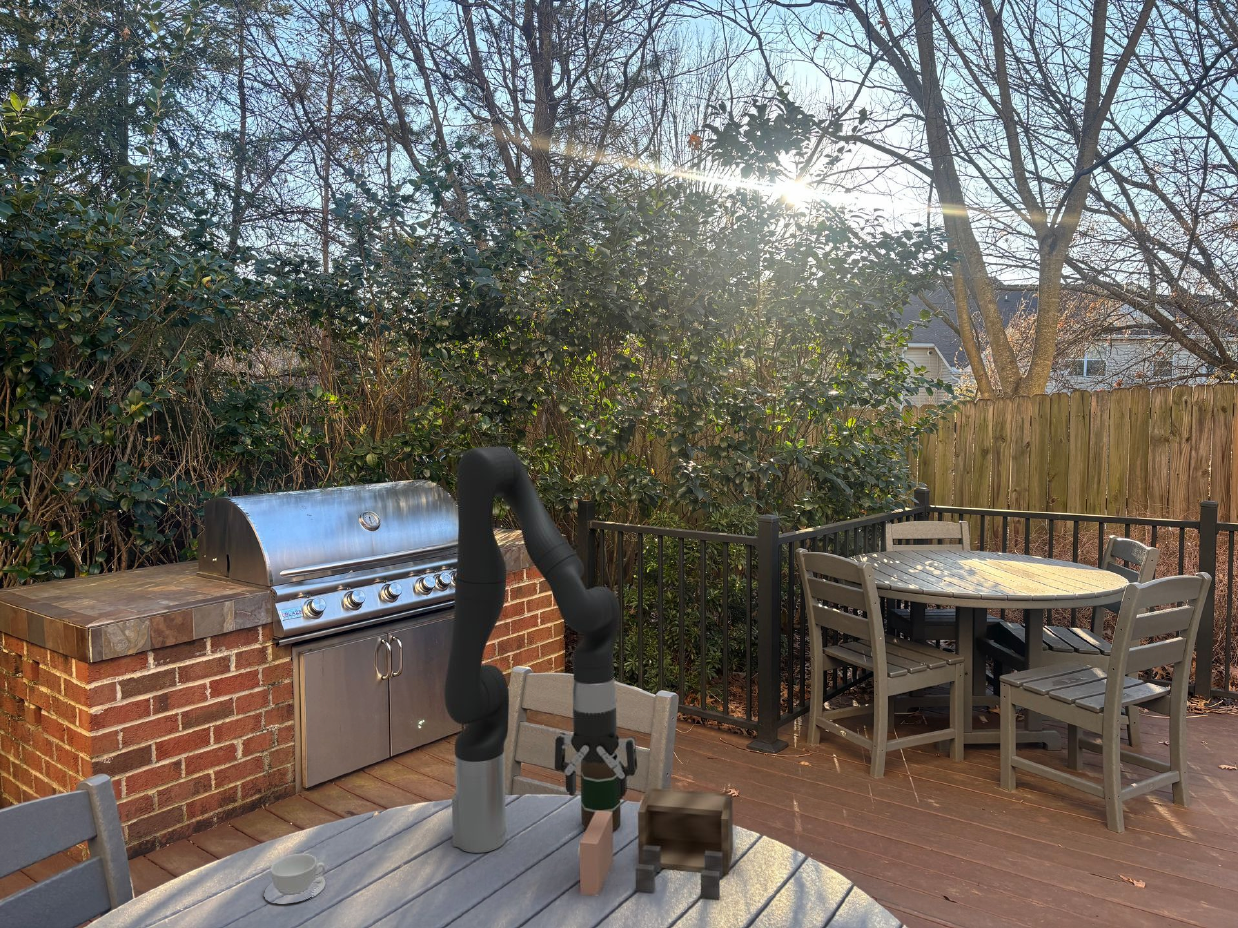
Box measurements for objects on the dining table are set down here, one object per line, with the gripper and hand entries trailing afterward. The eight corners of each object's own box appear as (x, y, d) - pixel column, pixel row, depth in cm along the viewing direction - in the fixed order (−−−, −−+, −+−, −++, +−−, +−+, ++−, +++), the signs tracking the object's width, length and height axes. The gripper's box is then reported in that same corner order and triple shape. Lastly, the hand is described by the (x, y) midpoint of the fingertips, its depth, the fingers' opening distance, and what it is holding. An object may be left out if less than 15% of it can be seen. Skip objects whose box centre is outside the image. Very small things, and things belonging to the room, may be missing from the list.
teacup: (264, 913, 139) (263, 885, 139) (262, 883, 148) (261, 857, 148) (328, 898, 143) (328, 870, 143) (322, 869, 152) (321, 844, 152)
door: (591, 857, 155) (590, 809, 154) (613, 859, 154) (612, 811, 154) (574, 893, 143) (574, 841, 143) (597, 896, 142) (597, 843, 142)
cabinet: (630, 890, 144) (629, 832, 143) (648, 838, 161) (647, 787, 161) (724, 900, 140) (724, 841, 140) (732, 846, 158) (732, 794, 158)
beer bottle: (622, 817, 170) (621, 699, 169) (618, 836, 163) (617, 713, 161) (584, 816, 171) (582, 699, 170) (578, 834, 163) (576, 712, 162)
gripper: (548, 709, 145) (551, 802, 145) (630, 712, 142) (632, 808, 143) (560, 695, 152) (563, 784, 153) (638, 698, 149) (640, 789, 150)
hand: (596, 795), depth 148 cm, fingers open, 8 cm apart
